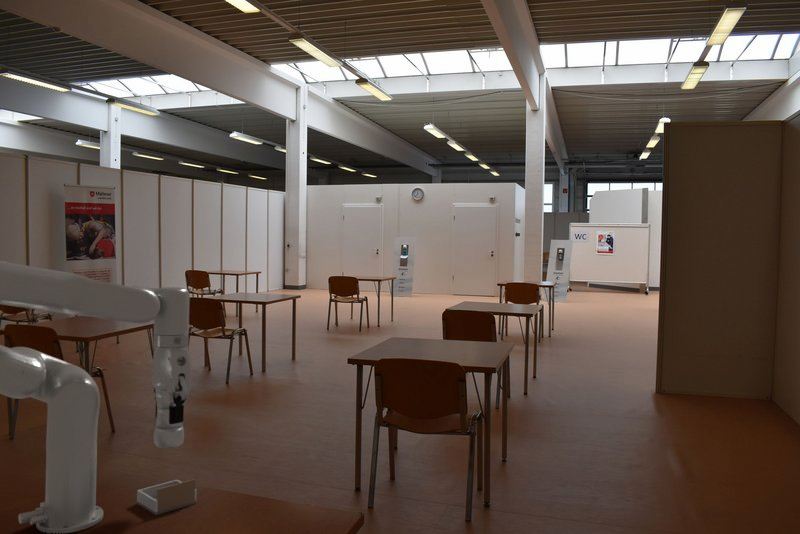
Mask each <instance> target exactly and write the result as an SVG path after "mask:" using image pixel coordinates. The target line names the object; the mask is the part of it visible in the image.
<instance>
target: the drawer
mask: <svg viewBox="0 0 800 534" xmlns="http://www.w3.org/2000/svg"><path fill="white" fill-rule="evenodd" d="M197 490H198V489H197V488H196V479H195V478H193V479H188V480H185V481H181V480H179V479H174V480H171V481H167V482H162V483H160V484H155V485H152V486H148V487H145V488H141V489H137V491H136V505H137V506H140V507H141V508H143V509H144V510H146V511H148V512H149V513H151V514H153V515H155V516H158V515H161V514H165V513H168V512H171V511H175V510H179V509H181V508H185V507H188V506H191V505H194V504H197V496H198V495H197V492H198V491H197Z"/></svg>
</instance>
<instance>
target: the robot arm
mask: <svg viewBox="0 0 800 534" xmlns="http://www.w3.org/2000/svg"><path fill="white" fill-rule="evenodd" d="M0 305H3V306H10V307H17V308H24V309H32V310H41V311H46V312H53V313H60V314H65V315H70V316H72V315H73V316H84V317H91V318H97V319H103V320H109V321H110V320H111V321H117V322H124V323H129V324H130V323H132V324H147V323H149V322H151V321H153V341H152V342H153V347H152V348H153V349H154V350H153V355H152V356H153V358H152V365H151V366H152V368H151V369H152V371H151V386H152V387H153V393H154V400H155V419H157V399H156V392H155V382H156V379H157V378H158V377H161V378H162V379H163V380H164V382H165V385H166V389H167V390H166V391H167V392H168V393H170V399H171V406H169V424H176V423H181V422H183V423H184V416H185V415H184V414H185V413H184V411H185V410H184V409H185V408H184V407H185V406H184V405H186V400H187V398H188V397H189V396H190V391H191V389H192V367H191V366H192V365H191V364H192V363H191V354H190V349H189V338H190V337H189V332H190V331H189V330H190V328H189V327H190V291H189V290H188V289H187V288H186V287H179V286H178V287H175V286H174V287H173V286H168V287H167V286H166V287H163V286H162V287H159V288H157V287H156V288H155V287H145V286H138V285H136V286H135V285H133V286H131V285H130V286H129V285H123V284H118V283H111V282H107V281H101V280H97V279H92V278H90V277H86V276H83V275H81V274H77V273H72V272H68V271H60V270H55V269H49V268H43V267H38V266H31V265H27V264H26V265H25V264H21V263H15V262H14V263H13V262H8V261H5V260H0ZM175 388H180V391H178V392H175V391H176V390H175ZM0 394H1V395H2V396H5V397H8V398H10V399H11V398H12V399H18V400H19V399H28V398H32V399H35V400H37V401H40V402H43V403H45V404H46V403H47V417H46V418H47V420H46V437H45V438H46V440H45V453H46V459H45V460H46V461H45V498H44V499H45V501H41V502H40V503H39V507H37V508H35V510H32V511H26V512H22V513H19V514H18V516H17V517H18V518H17V519H18V523H19V524H21V525H22V524H25V523H29V524H30V525H34V524H35V528H36V529H37V530H38V531H40V532H42V533H45V532H46V533H45V534H51V533H53V534H55V533H56V534H58V533H59V534H61V533H62V534H70V533H74V532H80V531H83V530H86V529H89V528H92V527H93V526H96V525H97V524H98V523H100V522H101V521H102V520H103V518H104V509H102V507H100V506H99V505H96V503H97V465H98V463H97V461H98V460H97V458H98V453H97V452H98V426H99V423H98V422H99V414H100V407H101V395H100V389H99V387H98V384H97V383H96V381H95V380H94V379H93V377H92V376H91V375H90V374H89V372H87V371H86V369H85V370H84V369H83V368H82V367H79V366H77V365H75V364H73V363H70V362H67V361H66V360H62V359H60V358H57V357H54V356H51V355H49V354H47V353H44V352H42V351H39V350H36V349H34V348H30V347H27V346H26V347H25V346H15V347H14V346H13V347H8V346H5V345H1V344H0ZM177 394H180V395H179V396H177V398H176V399H175V395H177Z"/></svg>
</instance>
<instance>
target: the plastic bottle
mask: <svg viewBox="0 0 800 534" xmlns="http://www.w3.org/2000/svg"><path fill="white" fill-rule="evenodd" d="M166 390H167V389H166V385H165V382H164V380H163V379H162V378H161V377H158V378H157V379H156V382H155V392H156V399H157V418H155V419H156V421H155V428H154V432H153V442H154V445H155V446H156V447H157V448H159V449H165V450H166V449H175V448H179V447H181V446H182V444H183V443H184V439H185V429H184V426H183V423H184V421H183V422H181V423H176V424H169V406H171V399H170V393H168V392H167V391H166ZM175 390H176V391H175V392H178V391H180V388H175ZM155 392H154V393H155ZM179 395H180V394H177V395H175V399H176V398H177V396H179Z"/></svg>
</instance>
